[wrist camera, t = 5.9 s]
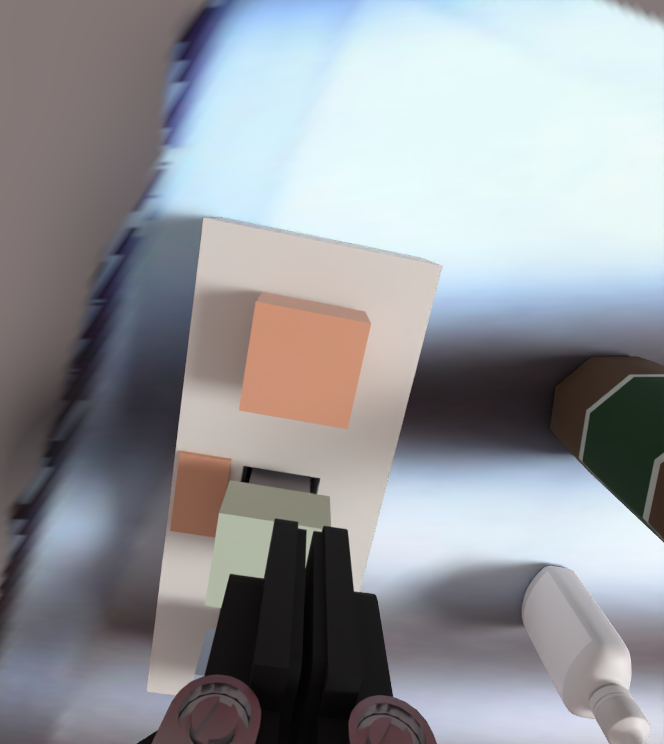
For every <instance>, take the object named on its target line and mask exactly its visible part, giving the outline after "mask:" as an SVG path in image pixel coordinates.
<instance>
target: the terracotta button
mask: <svg viewBox="0 0 664 744" xmlns="http://www.w3.org/2000/svg"><path fill="white" fill-rule="evenodd" d="M370 327H371V322H370V320H369V318H368V316H367V314H366V312H365V311H360V310H355V309H350V308H344V307H339V306H334V305H329V304H324V303H318V302H313V301H308V300H303V299H298V298H292V297H287V296H282V295H277V294H271V293H266V292H262V293H261V295H260V296H259V298H258V299H257V300H256V302H255V309H254V315H253V322H252V328H251V335H250V341H249V348H248V354H247V361H246V367H245V374H244V380H243V387H242V393H241V399H240V406H239V411H245V412H251V413H256V414H262V415H268V416H274V417H280V418H286V419H291V420H297V421H303V422H309V423H315V424H320V425H326V426H332V427H338V428H344V429H348V425H349V421H350V416H351V412H352V407H353V403H354V398H355V394H356V389H357V385H358V380H359V376H360V371H361V367H362V362H363V358H364V353H365V349H366V344H367V340H368V335H369V331H370Z"/></svg>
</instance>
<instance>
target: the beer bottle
mask: <svg viewBox="0 0 664 744" xmlns="http://www.w3.org/2000/svg"><path fill="white" fill-rule="evenodd" d="M550 430H551V431H552V433H553V434H554V435H555V436H556V437H557V438H558V439H559V440H560V441H561V443H562V444H563V445H564V446H565V447H566V448H567V449H568V450H569V451H570V452H571V453H572V454H573V455H574V456H575V457H576V459H577V460H578V461H579V462H580V463H581V464H582V465H583V466H584V467H585V468H586V469H587V470H588V471H589V472H590V473H591V474H592V475H593V476H594V477H595V478H596V479H597V480H598V481H599V482H600V483H601V484H602V485H604V486H605V487H606V488H607V489H608V490H609V491H610V492H611V493H612V494H613V495H614V496H615V497H616V498H617V499H618V500H619V501H620V502H622V503H623V504H624V505H625V506H626V507H627V508H628V509H629V510H630V511H631V512H632V513H633V514H634V515H635V516H636V517H637V518H638V519H640V520H641V521H642V522H643V523H644V524H645V525H646V526H647V527H648V528H649V529H650V530H651V531H652V532H653V533H654V534H655V535H657V536H658V537H659V538H660V539H661V540H662V541H663V542H664V366H662V365H660V364H658V363H655V362H652V361H649V360H646V359H643V358H640V357H590V358H589V359H588V360H587V361H585V362H584V363H583V364H582V365H581V366H579V367H578V368H577V369H576V370H575V371H574V372H572V373H571V374H570V375H569V376H568V377H567V378H565V379H564V380H563V381H562V382H561V383H559V384H558V385H557V386H556V387H555V394H554V401H553V409H552V416H551V423H550Z"/></svg>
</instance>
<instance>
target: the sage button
mask: <svg viewBox="0 0 664 744" xmlns="http://www.w3.org/2000/svg"><path fill="white" fill-rule="evenodd" d="M275 518H277V519H284V520H290V521H297V522H298V528H299V529H306V530H307V536H306V563H307V558H308V554H309V549H310V544H311V539H312V535H313V531H319V532H322V529H323V526H330V527H331V513H330V496H325V495H318V494H312V493H310V476H304V475H298V474H291V473H285V472H279V471H273V470H267V469H261V468H255V467H253V469H252V473H251V477H250V480H249V483H244V482H237V481H231V480H230V481H229V484H228V488H227V491H226V494H225V497H224V500H223V503H222V506H221V509H220V512H219V517H218V523H217V530H216V536H215V543H214V549H213V556H212V563H211V569H210V576H209V582H208V589H207V596H206V602H205V606H211V607H218V608H221V607H222V603H223V599H224V595H225V591H226V587H227V582H228V579H229V575H230V574H236V575H243V576H250V577H257V578H264V574H265V569H266V563H267V558H268V552H269V547H270V541H271V536H272V530H273V525H274V520H275ZM305 568H306V566H305Z"/></svg>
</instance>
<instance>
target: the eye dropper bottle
mask: <svg viewBox="0 0 664 744" xmlns="http://www.w3.org/2000/svg"><path fill="white" fill-rule="evenodd" d="M522 621H523V624H524V627H525V629H526V631H527V633H528V635H529V637H530V639H531V641H532V643H533V645H534V647H535V648H536V650H537V652H538V654H539V656H540V658H541V660H542V662H543V664H544V666H545V668H546V670H547V672H548V674H549V676H550V678H551V680H552V682H553V684H554V686H555V688H556V690H557V692H558V693H559V695H560V697H561V699H562V701H563V703H564V704H565V706H566V707H567V709H568V710H569V711H570V712H571V713H572V714H574V715H576V716H579V717H584V718H590V719H596V720H597V722H598V724H599V726H600V728H601V729H602V731H603V733H604V735H605V737H606V738H607V740H608V742H609V743H610V744H646V743H645V741H646V740H647V739H648V737H649V735H650V732H651V726H650V723H649V722H648V720H647V719H646V717H645V715H644V714H643V712H642V711H641V709H640V708H639V706H638V705H637V703H636V702H635V700H634V699H633V697H632V696H631V694H630V693H629V687H630V682H631V659H630V653H629V651H628V649H627V647H626V645H625V643H624V642H623V640H622V639H621V637H620V636H619V634H618V633H617V631H616V630H615V628H614V627H613V626H612V624H611V623H610V621H609V620H608V619H607V617H606V616H605V614H604V613H603V612H602V610H601V609H600V607H599V606H598V605H597V603H596V602H595V600H594V599H593V598H592V596H591V595H590V593H589V592H588V591H587V589H586V588H585V586H584V585H583V584H582V582H581V581H580V579H579V578H578V577H577V575H576V574H575V573H574V571H572V570H570V569H567V568H562V567H557V566H546V567H544V568H543V569H542V570H541V571H540V572H539V573H538V574H537V575H536V576H535V577H534V579H533V580H532V581H531V583H530V585H529V586H528V588H527V590H526V593H525V595H524V599H523V604H522Z"/></svg>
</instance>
